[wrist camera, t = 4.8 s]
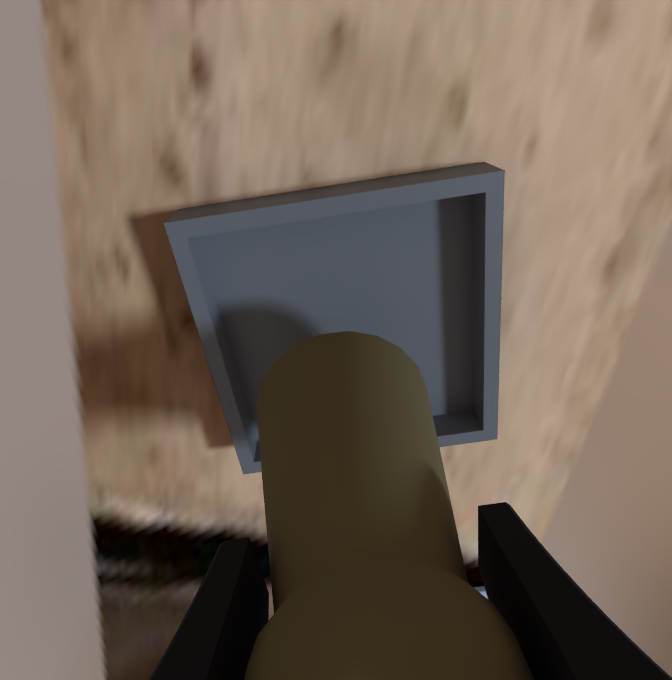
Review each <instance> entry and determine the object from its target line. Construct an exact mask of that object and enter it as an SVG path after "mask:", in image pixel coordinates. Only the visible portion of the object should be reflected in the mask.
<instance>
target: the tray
mask: <svg viewBox="0 0 672 680" xmlns="http://www.w3.org/2000/svg"><path fill="white" fill-rule="evenodd" d="M504 174H505V170H502V169H500V168H498V167H495V166H493V165H490V164H488V163H486V162H481V163H475V164H469V165H462V166H456V167H449V168H443V169H436V170H430V171H424V172H417V173H411V174H404V175H398V176H391V177H385V178H379V179H372V180H366V181H359V182H353V183H346V184H340V185H334V186H327V187H321V188H314V189H308V190H301V191H295V192H289V193H282V194H276V195H269V196H263V197H256V198H250V199H243V200H237V201H231V202H224V203H218V204H211V205H205V206H198V207H192V208H186V209H179V210H178V211H177V212H176V213H175V214H173V215H172V216H171V217H170V218H169V219H168V220H167V221H166V222H164V226H165V229H166V232H167V235H168V239H169V242H170V245H171V248H172V251H173V254H174V257H175V261H176V264H177V267H178V270H179V273H180V276H181V280H182V283H183V286H184V289H185V292H186V295H187V298H188V302H189V305H190V308H191V311H192V314H193V317H194V320H195V324H196V327H197V330H198V333H199V336H200V339H201V342H202V346H203V349H204V352H205V355H206V358H207V361H208V364H209V368H210V371H211V374H212V377H213V380H214V383H215V386H216V390H217V393H218V396H219V399H220V402H221V405H222V409H223V412H224V415H225V418H226V421H227V424H228V427H229V431H230V434H231V437H232V440H233V443H234V446H235V449H236V453H237V456H238V459H239V462H240V465H241V468H242V471H243V474H249V473H256V472H262V469H261V457H260V446H259V434H258V423H257V411H256V406H257V400H258V395H259V389H260V384H261V383H262V381H263V379H264V378H265V376H266V374H267V372H268V371H269V369H270V367H271V366H272V364H273V363H274V362H275V361H276V360H277V359H279V358H280V357H281V356H282V355H283V354H284V353H286V352H287V351H288V350H289V349H290V348H291V347H293V346H294V345H296V344H299V343H301V342H303V341H306V340H308V339H310V338H313V337H315V336H317V335H320V334H327V333H335V332H344V331H353V332H359V333H365V334H371V335H377V336H379V337H381V338H383V339H385V340H387V341H389V342H391V343H392V344H394V345H396V346H398V347H400V348H401V349H402V350H403V351H404V352H405V353H406V354H407V355H408V356H409V357H410V358H411V359H412V360H413V361H414V362H415V363H416V364H417V365H418V367H419V370H420V372H421V375H422V377H423V380H424V382H425V384H426V387H427V392H428V396H429V401H430V406H431V411H432V415H433V420H434V425H435V430H436V434H437V439H438V444H439V447H444V446H451V445H458V444H465V443H473V442H480V441H487V440H494V439H497V426H498V390H499V354H500V318H501V282H502V246H503V210H504Z"/></svg>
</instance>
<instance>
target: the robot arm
mask: <svg viewBox="0 0 672 680" xmlns="http://www.w3.org/2000/svg"><path fill="white" fill-rule="evenodd" d="M478 566H479V569H480V573H481V576H482V580H483V583H484V586H480V587H473V588H475V589H476V590H477V591H478V592H480V593H481V594H482V595H483V596H484V597H486V598H487V599H488V600H489V601H491V602H492V603H493V604H494V605H495V607H496V608H497V610H498V611H499V612H500V614H501V615H502V617H503V618H504V620H505V621H506V622H507V624H508V625H509V627H510V628H511V629H512V631H513V632H514V634H515V636H516V639H517V641H518V643H519V645H520V648H521V650H522V652H523V655H524V657H525V659H526V661H527V664H528V666H529V668H530V671H531V673H532V675H533V678H534V680H672V678H671V677H670V676H669V675H668V674H667V673H666V672H665V671H664V670H662V669H661V668H660V667H659V666H658V665H657V664H656V663H655V662H654V661H653V660H652V659H651V658H650V657H649V656H647V655H646V654H645V653H644V652H643V651H642V650H641V649H640V648H639V647H638V646H637V645H636V644H635V643H634V642H633V641H632V640H631V639H630V638H629V637H627V635H626V634H625V633H624V632H623V631H622V630H621V629H620V628H619V627H618V626H617V625H616V624H615V623H614V622H612V620H610V618H608V616H607V615H606V614H605V613H604V612H603V611H602V610H601V609H600V608H599V607H598V606H597V605H596V604H595V603H594V602H593V601H592V600H591V599H590V598H589V597H588V596H587V595H586V594H585V592H584V591H583V590H582V589H581V588H580V587H579V586H578V585H577V584H576V583H575V582H574V581H573V580H572V578H571V577H570V576H569V575H568V574H567V573H566V572H565V571H564V570H563V569H562V567H561V566H560V565H559V564H558V563H557V562H556V561H555V560H554V558H553V557H552V556H551V555H550V554H549V553H548V552H547V550H546V549H545V548H544V547H543V546H542V544H541V543H540V542H539V541H538V540H537V538H536V537H535V536H534V535H533V534H532V532H531V531H530V530H529V529H528V527H527V526H526V525H525V524H524V522H523V521H522V520H521V519H520V517H519V516H518V515H517V513H516V512H515V511H514V510H513V508H512V507H511V506H510V505H509V504H508V503H506V502H503V503H496V504H489V505H482V506H478ZM268 614H269V593H268V590H267V587H266V584H265V581H264V578H263V575H262V572H261V570H260V567H259V564H258V561H257V558H256V555H255V552H254V549H253V547H252V544H251V541H250V538H243V539H236V540H229V541H223V542H222V543H221V544H220V545H219V548H218V550H217V552H216V554H215V556H214V558H213V561H212V563H211V565H210V567H209V569H208V571H207V573H206V575H205V577H204V579H203V582H202V584H201V586H200V588H199V590H198V592H197V594H196V596H195V598H194V600H193V602H192V604H191V606H190V607H189V609H188V611H187V613H186V615H185V617H184V619H183V621H182V622H181V624H180V626H179V628H178V630H177V632H176V634H175V636H174V637H173V639H172V641H171V643H170V645H169V647H168V648H167V650H166V652H165V654H164V655H163V657H162V659H161V661H160V662H159V664H158V666H157V667H156V669H155V671H154V672H153V674H152V676H151V678H150V679H149V680H244V677H245V673H246V668H247V665H248V662H249V659H250V656H251V653H252V650H253V647H254V644H255V641H256V638H257V635H258V634H259V633H260V631H261V630H262V629H263V627H264V626H265V625H266V624H267V622H268Z"/></svg>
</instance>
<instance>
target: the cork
mask: <svg viewBox="0 0 672 680" xmlns="http://www.w3.org/2000/svg"><path fill="white" fill-rule="evenodd" d="M256 411H257V423H258V434H259V446H260V457H261V469H262V480H263V492H264V503H265V514H266V526H267V537H268V549H269V560H270V572H271V583H272V595H273V606H274V615H273V616H272V617H271V619H270V620H269V621H268V622H267V624H266V625H265V626H264V627H263V629H262V630H261V631H260V633H259V634H258V635H257V638H256V641H255V644H254V647H253V650H252V653H251V656H250V659H249V662H248V665H247V668H246V673H245V677H244V680H534V678H533V675H532V673H531V671H530V668H529V666H528V664H527V661H526V659H525V657H524V655H523V652H522V650H521V648H520V645H519V643H518V641H517V639H516V636H515V634H514V632H513V631H512V629H511V628H510V627H509V625H508V624H507V622H506V621H505V620H504V618H503V617H502V615H501V614H500V612H499V611H498V610H497V608H496V607H495V605H494V604H493V603H492V602H491V601H489V600H488V599H487V598H486V597H484V596H483V595H482V594H481V593H480V592H478V591H477V590H476V589H475V588H473V587H472V586H471V585H470V584H468V582H467V577H466V572H465V567H464V563H463V558H462V553H461V548H460V544H459V539H458V534H457V529H456V525H455V520H454V515H453V510H452V506H451V501H450V496H449V491H448V487H447V482H446V477H445V472H444V468H443V463H442V458H441V453H440V449H439V444H438V439H437V434H436V430H435V425H434V420H433V415H432V411H431V406H430V401H429V396H428V392H427V387H426V384H425V382H424V380H423V377H422V375H421V372H420V370H419V367H418V365H417V364H416V363H415V362H414V361H413V360H412V359H411V358H410V357H409V356H408V355H407V354H406V353H405V352H404V351H403V350H402V349H401V348H400V347H398V346H396V345H394V344H392V343H391V342H389V341H387V340H385V339H383V338H381V337H379V336H377V335H371V334H365V333H359V332H353V331H344V332H335V333H327V334H320V335H317V336H315V337H313V338H310V339H308V340H306V341H303V342H301V343H299V344H296V345H294V346H293V347H291V348H290V349H289V350H288V351H287V352H286V353H284V354H283V355H282V356H281V357H280V358H279V359H277V360H276V361H275V362H274V363H273V364H272V366H271V367H270V369H269V371H268V372H267V374H266V376H265V378H264V379H263V381H262V383H261V384H260V389H259V395H258V400H257V406H256Z"/></svg>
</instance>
